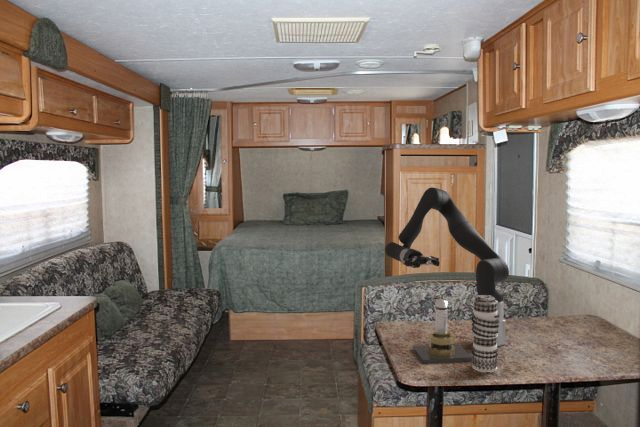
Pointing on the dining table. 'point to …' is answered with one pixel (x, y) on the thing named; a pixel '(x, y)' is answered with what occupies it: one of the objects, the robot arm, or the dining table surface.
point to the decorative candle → (485, 334)
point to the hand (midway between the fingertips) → (428, 264)
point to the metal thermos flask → (441, 321)
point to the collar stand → (441, 351)
